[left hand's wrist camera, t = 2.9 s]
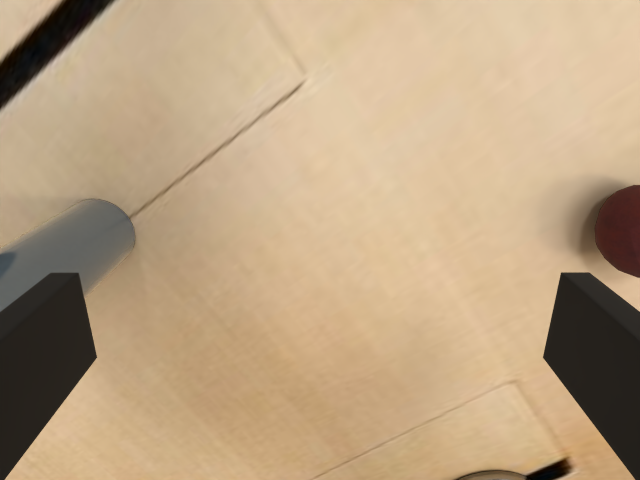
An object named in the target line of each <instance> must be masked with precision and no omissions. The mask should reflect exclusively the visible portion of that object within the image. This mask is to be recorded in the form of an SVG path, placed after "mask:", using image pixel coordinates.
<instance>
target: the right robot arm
mask: <svg viewBox="0 0 640 480" xmlns="http://www.w3.org/2000/svg"><path fill="white" fill-rule="evenodd" d="M458 480H532V479H530V478H528V477H526V476H523V475H520V474H516V473H512V472H504V471H489V472H481V473H476V474H472V475H469V476H466V477H463V478H460V479H458Z"/></svg>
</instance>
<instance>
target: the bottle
mask: <svg viewBox="0 0 640 480" xmlns="http://www.w3.org/2000/svg"><path fill="white" fill-rule="evenodd" d="M134 243H135V232H134V228H133V225H132V223H131V221H130V219H129V218H128V216H127V215H126V214H125V213H124V212H123V211H122V210H121V209H120V208H118V207H117V206H116V205H114V204H112V203H110V202H107V201H104V200H99V199H88V200H84V201H81V202H79V203H77V204H75V205H73V206H72V207H70V208H68V209H66V210H65V211H63V212H61V213H59V214H58V215H56V216H54V217H53V218H51V219H49V220H47V221H46V222H44V223H42V224H40V225H39V226H37V227H35V228H34V229H32V230H30V231H28V232H27V233H25V234H23V235H21V236H20V237H18V238H16V239H14V240H13V241H11V242H9V243H8V244H6V245H4V246H2V247H1V248H0V312H1V311H2V310H3V309H5V308H6V307H7V306H9V305H10V304H11V303H12V302H14V301H15V300H16V299H17V298H19V297H20V296H21V295H23V294H24V293H25V292H26V291H28V290H29V289H30V288H32V287H33V286H34V285H35V284H37V283H38V282H39V281H41V280H42V279H43V278H44V277H46V276H47V275H48V274H50V273H79V276H80V280H81V285H82V290H83V294H84V299H85V298H86V297H87V296H88V295H89V294H90V293H91V292H92V291H93V290H94V289H95V288H96V287H97V286H98V285H99V284H100V283H101V282H102V281H103V280H104V279H105V278H106V277H107V276H108V275H109V274H110V273H111V272H112V271H113V270H114V269H115V268H116V267H117V266H118V265H119V264H120V263H121V262H122V261H123V260H124V259H125V258H126V257H127V256H128V255H129V254H130V253H131V251H132V249H133V246H134Z"/></svg>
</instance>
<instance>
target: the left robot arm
mask: <svg viewBox="0 0 640 480" xmlns="http://www.w3.org/2000/svg"><path fill="white" fill-rule="evenodd" d="M96 358H97V355H96V351H95V346H94V341H93V337H92V332H91V327H90V323H89V318H88V313H87V309H86V304H85V299H84V294H83V290H82V285H81V280H80V276H79V273H50V274H48V275H47V276H46V277H44V278H43V279H42V280H41V281H39V282H38V283H37V284H35V285H34V286H33V287H32V288H30V289H29V290H28V291H26V292H25V293H24V294H23V295H21V296H20V297H19V298H17V299H16V300H15V301H14V302H12V303H11V304H10V305H9V306H7V307H6V308H5V309H3V310H2V311H1V312H0V480H5V478H6V477H7V476H8V474H9V473H10V472H11V470H12V469H13V468H14V466H15V465H16V464H17V462H18V461H19V460H20V458H21V457H22V456H23V454H24V453H25V452H26V451H27V449H28V448H29V447H30V445H31V444H32V443H33V441H34V440H35V439H36V437H37V436H38V435H39V433H40V432H41V431H42V429H43V428H44V427H45V425H46V424H47V423H48V421H49V420H50V419H51V417H52V416H53V415H54V414H55V412H56V411H57V410H58V408H59V407H60V406H61V404H62V403H63V402H64V400H65V399H66V398H67V396H68V395H69V394H70V392H71V391H72V390H73V388H74V387H75V386H76V384H77V383H78V382H79V381H80V379H81V378H82V377H83V375H84V374H85V373H86V371H87V370H88V369H89V367H90V366H91V365H92V363H93V362H94V361H95V359H96ZM543 358H544V359H545V361H546V362H547V363H548V365H549V366H550V367H551V369H552V370H553V371H554V373H555V374H556V375H557V377H558V378H559V379H560V381H561V382H562V383H563V384H564V386H565V387H566V388H567V390H568V391H569V392H570V394H571V395H572V396H573V398H574V399H575V400H576V402H577V403H578V404H579V406H580V407H581V408H582V410H583V411H584V412H585V414H586V415H587V416H588V417H589V419H590V420H591V421H592V423H593V424H594V425H595V427H596V428H597V429H598V431H599V432H600V433H601V435H602V436H603V437H604V439H605V440H606V441H607V443H608V444H609V445H610V447H611V448H612V449H613V451H614V452H615V453H616V454H617V456H618V457H619V458H620V460H621V461H622V462H623V464H624V465H625V466H626V468H627V469H628V470H629V472H630V473H631V474H632V476H633V477H634V478H635V480H640V312H639V311H638V310H637V309H635V308H634V307H633V306H631V305H630V304H629V303H628V302H626V301H625V300H624V299H623V298H621V297H620V296H619V295H617V294H616V293H615V292H614V291H612V290H611V289H610V288H608V287H607V286H606V285H605V284H603V283H602V282H601V281H599V280H598V279H597V278H596V277H594V276H593V275H592V274H590V273H561V276H560V280H559V285H558V290H557V294H556V299H555V304H554V309H553V313H552V318H551V323H550V327H549V332H548V337H547V341H546V346H545V351H544V355H543Z"/></svg>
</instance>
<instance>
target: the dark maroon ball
mask: <svg viewBox="0 0 640 480" xmlns="http://www.w3.org/2000/svg"><path fill="white" fill-rule="evenodd" d="M595 238H596V244H597V246H598V249H599V250H600V252H601V253H602V255H603V256H604V258H605V259H606V260H607V261H608V262H609V263H610V264H612V265H613V266H614V267H615V268H616V269H618V270H619V271H622V272H624V273H627V274H630V275H632V276H635V277H638V278H640V185H633V186H630V187H627V188H624V189H621V190H619V191H617V192H615V193H614V194H613V195H612V196H610V197H609V198H608V199H607V200H606V202H605V203H604V205H603V206H602V208H601V209H600V212H599V215H598V219H597V222H596V226H595Z"/></svg>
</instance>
